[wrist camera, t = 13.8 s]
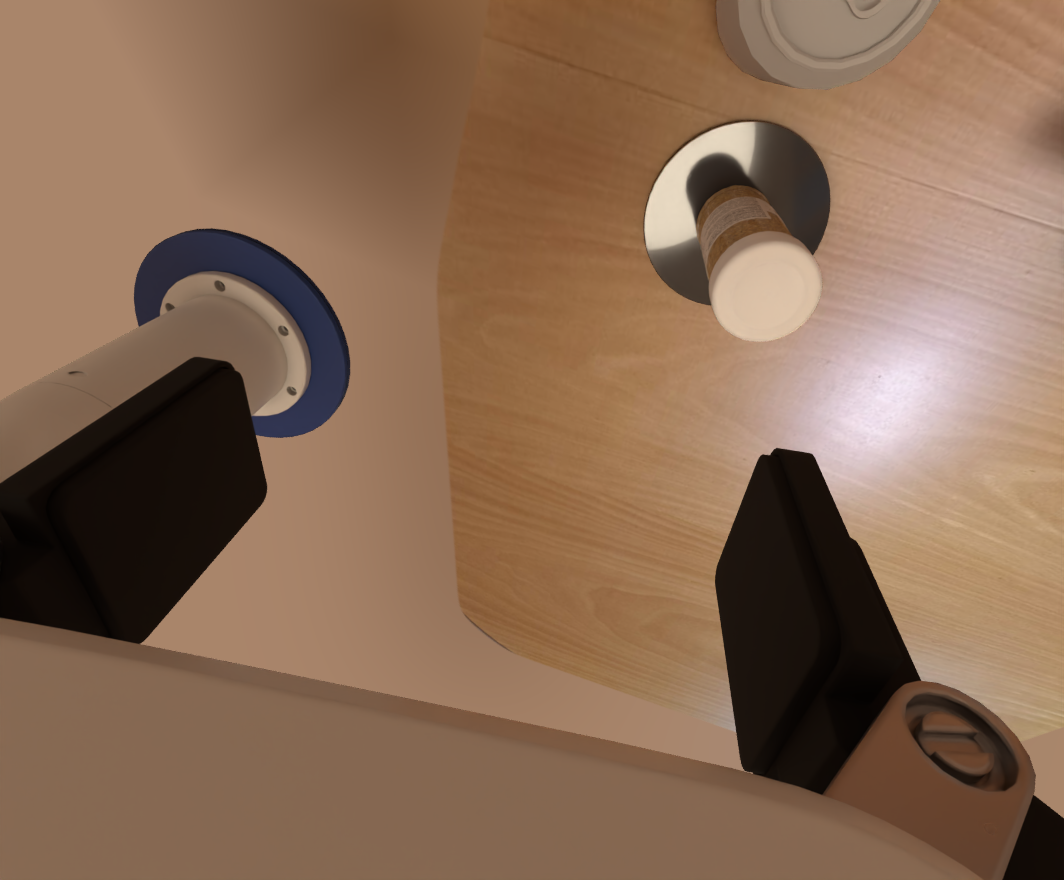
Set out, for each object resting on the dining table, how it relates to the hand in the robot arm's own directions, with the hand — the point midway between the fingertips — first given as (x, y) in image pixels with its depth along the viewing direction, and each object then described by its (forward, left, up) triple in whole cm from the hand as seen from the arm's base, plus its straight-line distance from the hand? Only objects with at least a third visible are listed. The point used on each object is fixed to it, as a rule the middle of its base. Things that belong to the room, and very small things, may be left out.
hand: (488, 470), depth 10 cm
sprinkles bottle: (+7, -5, -31) cm, 32 cm away
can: (+12, +5, -31) cm, 34 cm away
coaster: (+7, -5, -31) cm, 32 cm away
